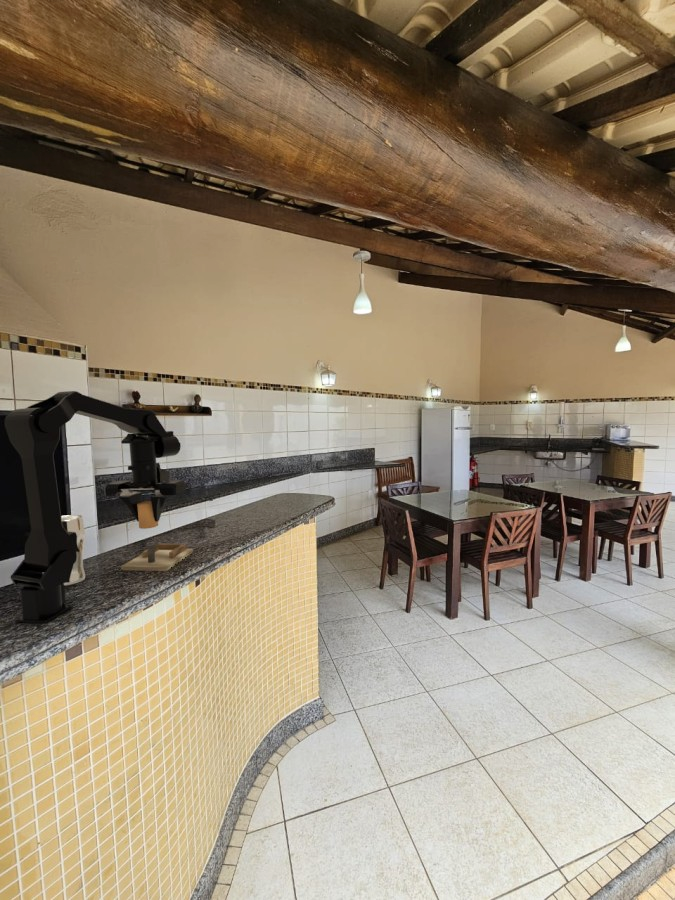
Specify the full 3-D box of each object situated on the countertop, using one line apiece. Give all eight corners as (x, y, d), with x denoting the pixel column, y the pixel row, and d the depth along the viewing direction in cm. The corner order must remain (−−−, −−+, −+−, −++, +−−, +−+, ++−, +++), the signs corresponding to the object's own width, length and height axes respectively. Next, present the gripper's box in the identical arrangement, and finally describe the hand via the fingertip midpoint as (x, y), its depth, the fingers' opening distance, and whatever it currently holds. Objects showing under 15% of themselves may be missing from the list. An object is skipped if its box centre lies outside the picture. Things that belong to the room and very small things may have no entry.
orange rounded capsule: (151, 528, 98) (150, 504, 97) (135, 528, 98) (133, 505, 98) (161, 523, 102) (159, 500, 102) (145, 523, 103) (143, 501, 102)
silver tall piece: (69, 587, 89) (65, 522, 88) (44, 585, 90) (39, 521, 89) (94, 575, 96) (90, 514, 95) (70, 574, 97) (66, 514, 96)
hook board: (166, 570, 98) (165, 550, 97) (121, 570, 99) (120, 550, 99) (192, 552, 112) (192, 534, 111) (152, 551, 113) (151, 534, 113)
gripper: (194, 456, 106) (198, 513, 107) (129, 457, 108) (133, 513, 109) (172, 461, 95) (177, 524, 96) (100, 462, 97) (106, 524, 98)
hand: (148, 521), depth 100 cm, fingers closed on orange rounded capsule, 4 cm apart
